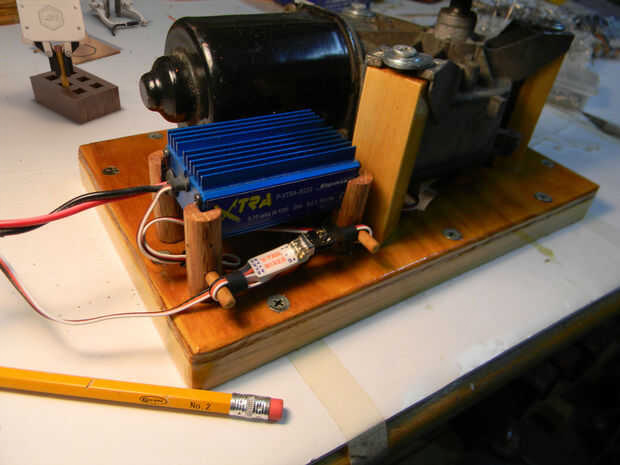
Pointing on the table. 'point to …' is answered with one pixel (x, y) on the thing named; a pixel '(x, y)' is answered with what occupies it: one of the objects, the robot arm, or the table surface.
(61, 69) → the pencil
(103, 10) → the bike brake
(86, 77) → the stand
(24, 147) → the table surface
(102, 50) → the pad
